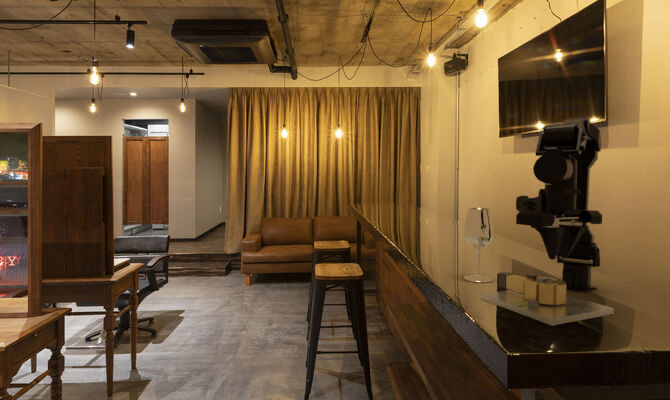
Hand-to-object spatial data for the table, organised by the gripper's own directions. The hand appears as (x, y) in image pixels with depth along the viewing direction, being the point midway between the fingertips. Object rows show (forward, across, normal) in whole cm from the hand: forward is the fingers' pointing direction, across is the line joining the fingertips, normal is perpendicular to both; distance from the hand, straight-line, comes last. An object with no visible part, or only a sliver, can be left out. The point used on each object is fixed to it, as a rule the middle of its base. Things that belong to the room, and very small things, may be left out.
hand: (558, 258), depth 79 cm
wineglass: (+11, -4, -27) cm, 30 cm away
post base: (+11, 0, -3) cm, 11 cm away
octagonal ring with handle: (+9, 0, -7) cm, 12 cm away
